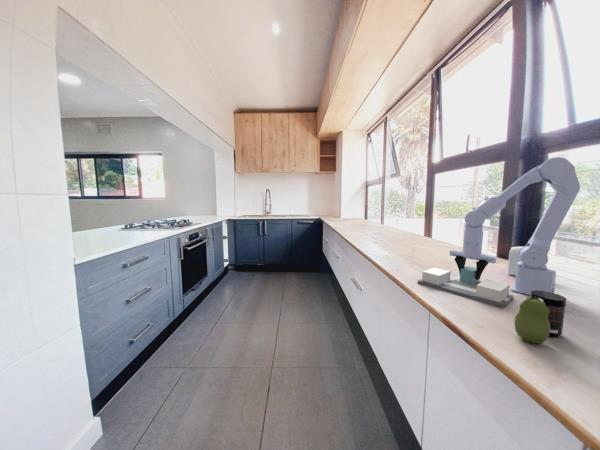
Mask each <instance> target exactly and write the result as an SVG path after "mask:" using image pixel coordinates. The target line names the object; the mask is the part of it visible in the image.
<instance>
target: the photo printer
mask: <svg viewBox="0 0 600 450" xmlns="http://www.w3.org/2000/svg"><path fill="white" fill-rule="evenodd" d="M522 247H524V246H519V245H518V246H512V247H511V248H510V250H509V253H508V264H507V275H508V276H514V277H516V269H517V263H518V262H520V261H521V257H520V256H519V251H520V249H521V248H522Z"/></svg>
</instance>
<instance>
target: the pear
mask: <svg viewBox="0 0 600 450" xmlns="http://www.w3.org/2000/svg"><path fill="white" fill-rule="evenodd" d="M534 297H535V298H534ZM534 297H532V298H531V297H530V296H529V295H527V296H526V297H525V299H524V300H523V301H522V302H521V303H520V304H519V309H518V311H517V313H516V315H515V317H514V329H515V332H516V333H517V335H518V337H520V338H521V340H524V341H526V342H529V343H531V344H542V343H544V342H546V341H547V340H548V338H549V334H550V323H549V321H548V315H549V312H550V311H549V309H548V308H547V307H546V305H545V303H544V300H542V299H541V298H537V297H536V296H534Z"/></svg>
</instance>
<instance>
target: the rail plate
mask: <svg viewBox="0 0 600 450" xmlns="http://www.w3.org/2000/svg"><path fill="white" fill-rule="evenodd" d="M451 272H452V271H451V270H447V269H443V268H440V267H439V268H438V267H431V268H428V269H425V270H423V271H422V273H421V274H422V276H421V278H420V279H418V280H417V283H418V284H420V285H423V286H426V287H427V286H428V287H430V288H434V289H437V290H440V291H444V292H448V293H450V294H454V295H458V296H460V297H465V298H468V299H472V300H475V301H479V302H481V303H485V304H488V305H492V306H495V307H498V308H501V309H503V308H505V306H507V305H508V304H509V303H510V302H511V301H512V300H514V295H513V294H510V285H511V284H509V283H503V282H501V281H495V280H490V279H485V280H483V281H481V282H480V283H477V284H476V285H474V284H468V283H464V282H460V281H457V280H453V279H451Z"/></svg>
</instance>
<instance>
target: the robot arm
mask: <svg viewBox="0 0 600 450" xmlns="http://www.w3.org/2000/svg"><path fill="white" fill-rule="evenodd" d="M542 181H544V182H547V183H548V185H549V186H550V187H551V188H552V189H553V190H554V192H553V195H552V197H551V199H550V201H549V203H548V205H547V207H546V209H545V211H544V212H543V214H542V216H541V217H540V219H539V222H538V223H537V226H536V228H535V230H534V232H533V233H532V235H531V237H530V239H528V241H527V243H526V244H525V245H524V246H523V247H522V248H521V249H520V251H519V256H520V257H521V261H520V262H518V263H517V269H516V276H515V279H514V280H515V281H514V285H513V286H512V287H511V288H509V291H512V292H517V293H520V294H524V295H525V294H526V295H527V296H529V295H530V296H531V291H535V290H537V291H546V292H551V293H555V290H556V288H555V284H556V277H557V276H556V275H557V271H556V270H554V269H548V266H547V263H548V262H549V257H548V254H549V251H550V248H551V244H552V242H553V240H554V238H555V236H556V234H557V233H558V231H559V229H560V227H561V225H562V224H563V222H564V219H565V218H566V217H567V214H568V212H569V210H570V208H571V206H572V205H573V203H574V201H575V199H576V197H577V196H578V194H579V192H580V190H581V184H580V182H579V180H578V175H577V172H576V166H575V165H573V163H571V162H570V161H569V160H568V159H567V158H564V157H561V156H558V157H557V156H555V157H551V158H548V159H547V160H545V161H544V162H543V163H541V164H540V165H537V166H535V167H533V168H532V169H531V170H529V171H527V172H526V173H524V174H523V175H522V176H520V177H519V178H518V179H516V180H515V181H514V182H513V183H511V184H510V185H509V186H508V187H507V188H505V189H504V190H503V191H501V192H500V193H499V194H493V195H489V197H488V196H486V197H485V198H484V201H483V202H481V203H480V204H478V206H474V207H473V208H472V210H471V211H469V212H468V213H467V214H466V215H465V217H464V221H465V225H464V234H463V244H462V245H463V246H462V250H461V251H460V250H450V251H449V256H450V257H454V262H455V263H456V265H457V268H458V271H459V274H460V273H461V269H462V268H464V267H466V263H467V259H469V260H474V261H475V263H476V268H477V272H476V280H479V281H480V279H481V276H482V274H483V272H484V270H485V268H486V267H487V266H488V264H496V263H497V257H495V256H490V255H485V254H482V250H483V237H484V230H483V229H484V227H483V226H484V223H485V221H486V219H491V218H492V217H494V216H495V215H496V214H497V213H499V212H500V211H502V210H503V209H504V208H506V206H507V201H508V200H509V199H512V197H514V196H516V195H517V194H518V193H519V192H521V191H522V190H524V189H525V188H527V187H528V186H529V185H531V184H535V183H539V182H542Z"/></svg>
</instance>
